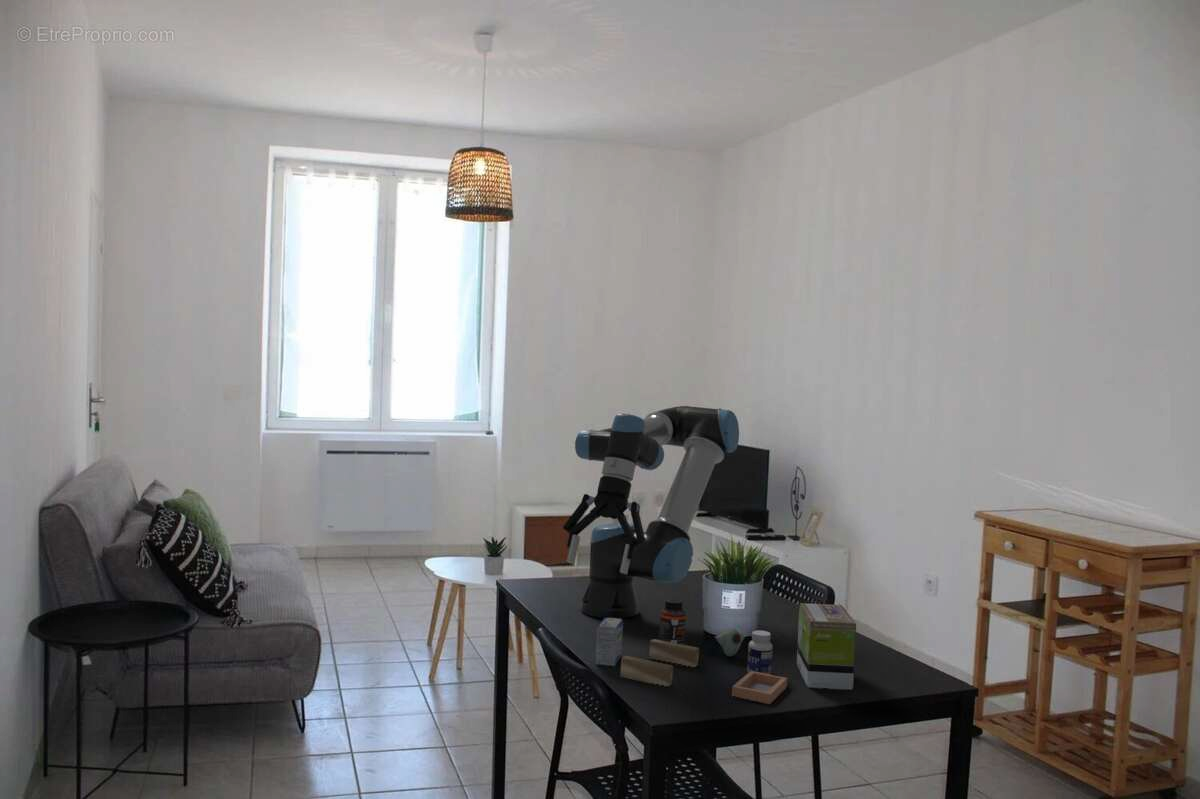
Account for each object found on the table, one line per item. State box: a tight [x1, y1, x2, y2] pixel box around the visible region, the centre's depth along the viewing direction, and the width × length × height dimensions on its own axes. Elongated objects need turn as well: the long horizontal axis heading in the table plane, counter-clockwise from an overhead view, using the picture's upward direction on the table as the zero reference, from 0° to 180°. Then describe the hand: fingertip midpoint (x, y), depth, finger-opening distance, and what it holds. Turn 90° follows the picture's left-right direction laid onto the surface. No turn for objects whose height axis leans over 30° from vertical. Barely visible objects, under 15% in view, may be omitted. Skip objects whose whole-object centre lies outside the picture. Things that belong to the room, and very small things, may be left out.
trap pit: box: [731, 671, 788, 705], centre depth 209 cm, size 12×8×2 cm, turn 153°
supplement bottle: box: [658, 598, 687, 645], centre depth 236 cm, size 6×6×11 cm
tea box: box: [796, 602, 857, 691], centre depth 220 cm, size 15×10×15 cm, turn 178°
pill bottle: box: [746, 630, 774, 675], centre depth 221 cm, size 5×5×9 cm
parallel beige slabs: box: [620, 638, 700, 687], centre depth 219 cm, size 17×11×4 cm, turn 153°
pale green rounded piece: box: [714, 627, 746, 657], centre depth 231 cm, size 8×4×7 cm, turn 121°
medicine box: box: [595, 618, 624, 667], centre depth 224 cm, size 8×4×9 cm, turn 168°
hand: (596, 568), depth 232 cm, fingers open, 13 cm apart
